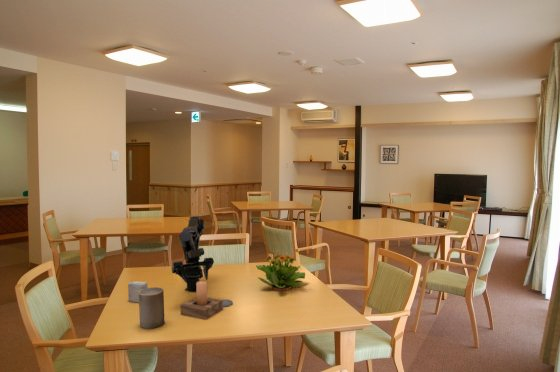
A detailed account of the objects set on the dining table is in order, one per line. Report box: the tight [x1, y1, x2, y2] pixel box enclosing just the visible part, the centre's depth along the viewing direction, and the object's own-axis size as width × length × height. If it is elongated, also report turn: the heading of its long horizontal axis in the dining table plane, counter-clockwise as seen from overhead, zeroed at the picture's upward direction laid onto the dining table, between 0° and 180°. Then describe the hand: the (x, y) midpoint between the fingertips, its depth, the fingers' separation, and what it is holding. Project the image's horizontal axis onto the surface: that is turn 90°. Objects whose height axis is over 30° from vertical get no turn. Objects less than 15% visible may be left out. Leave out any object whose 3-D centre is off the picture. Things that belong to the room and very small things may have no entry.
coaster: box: [222, 299, 233, 308], centre depth 184 cm, size 8×8×1 cm
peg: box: [196, 280, 208, 306], centre depth 175 cm, size 4×4×13 cm
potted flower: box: [256, 253, 306, 292], centre depth 206 cm, size 25×24×18 cm
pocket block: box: [180, 296, 224, 320], centre depth 175 cm, size 13×13×4 cm
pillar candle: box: [138, 287, 166, 330], centre depth 161 cm, size 10×10×15 cm
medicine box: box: [127, 280, 149, 303], centre depth 188 cm, size 8×4×9 cm, turn 74°
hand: (197, 281), depth 179 cm, fingers open, 9 cm apart
